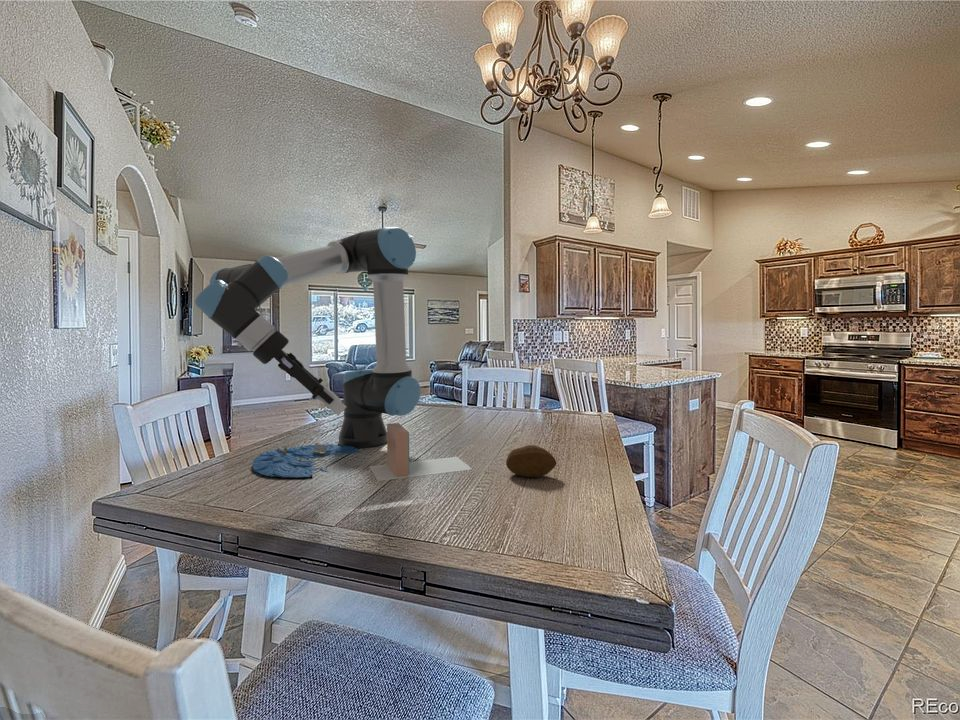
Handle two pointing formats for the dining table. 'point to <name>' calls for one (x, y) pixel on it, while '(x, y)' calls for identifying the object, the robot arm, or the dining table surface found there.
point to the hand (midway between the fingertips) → (339, 407)
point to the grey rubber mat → (422, 468)
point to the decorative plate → (296, 459)
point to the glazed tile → (398, 449)
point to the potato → (530, 461)
